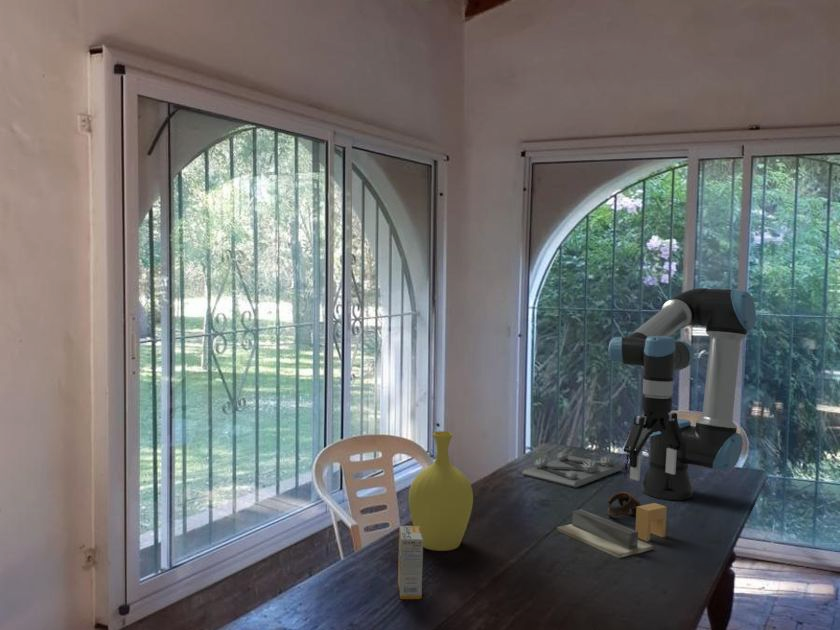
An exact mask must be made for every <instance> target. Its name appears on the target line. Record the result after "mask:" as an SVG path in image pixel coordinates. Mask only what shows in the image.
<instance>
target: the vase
mask: <svg viewBox="0 0 840 630" xmlns="http://www.w3.org/2000/svg"><path fill="white" fill-rule="evenodd" d="M432 435H433V438H434V442H435V445H436V454H435V459H434V461H433V462H432V464H430V465H429V466H427V467H426V468H424V469H422V470H421V471H420V472H419V473H418V474H417V475H416V476H415V478H414V479H413V481H412V482H411V484H410V487H409V491H408V507H409V513H410V518H411V521H412V524H413V525H412V526H420V528H421V533H422V537H423V549H427V550H430V551H439V552H441V551H443V552H444V551H452V550H456V549H457V548H458V547H459V548H460V545H461V543H462V540H463V538H464V535H465V534H466V533H465V532H466V531H467V527H468V524H469V521H470V518H471V514H472V511H473V504H474V492H473V488H472V485H471V483H470V481H469V479H468V478H467V477H466V476H465V474H464V473H463V472H462V471H460V470H459V469H458V468H457V467H455V466H453V464H451V461H450V459H449V458H450V457H449V447H450V443H451V440H452V438H453V435H454V434H453V432H450V431H443V430H442V431H441V430H440V431H434V432H433V433H432Z"/></svg>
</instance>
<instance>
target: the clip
mask: <svg viewBox="0 0 840 630" xmlns="http://www.w3.org/2000/svg"><path fill="white" fill-rule="evenodd" d="M667 510H668V508H667V506H666V505H662V504H658V503H656V502H652V503H648V504H647V503H646V504H643V505H641V506H637V508H636V515H635V527H634V528H635V531H637V532H638V539H639V540H643V541H644V542H649V541H651V534H653V535H654V536H658V537H659V538H666V530H667V529H666V527H667V525H666V524H667V512H668V511H667Z"/></svg>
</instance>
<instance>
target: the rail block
mask: <svg viewBox="0 0 840 630" xmlns="http://www.w3.org/2000/svg"><path fill="white" fill-rule="evenodd" d="M556 532H559V533H561V534H564V535H566V536H568V537H570V538H572V539H575V540H577V541H578V542H581V543H584V544H586V545H588V546H590V547H593V548H594V549H597V550H600V551H601V552H604V553H606V554H609V555H610V556H613V557H615V558H617V559H621V558H624V557H625V558H626V557H628V556H633V555H636V554H641V553H645V552H648V551H649V552H650V551H653V549H654V546H653V545H652V544H649V543H647V542H646V541H642V540H641V539H639V538H638V532H637V531H635V530H634V529H632V528H630V527H627V526H624V525H622V524H621V523H617V522H614V521H612V520H609V519H607V518H605V517H601V516H599V515H597V514H594V513H591V512H589V511H586V510H584V509H581V508H580V509H576V510H572V523H571V524H565V525H561V526H556Z"/></svg>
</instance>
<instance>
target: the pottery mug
mask: <svg viewBox="0 0 840 630" xmlns="http://www.w3.org/2000/svg"><path fill="white" fill-rule="evenodd" d="M615 501H618V503H619V505H620V506H614V505H612V504H613V503H614V502H615ZM607 503H608V505H607V515H608V518H611V517H612V516H613V517H618V516H624V515H628V516H631V515H632V516H636V508H637V506H642V505H641V503H640V501H639V500H638V499H637V498H636V497H635V496H633V495H632V494H631V493H629V492H627V491H622V492H618V493H615V494H613V495H612V496H611V497H609V499H608V500H607ZM630 510H631V511H630Z"/></svg>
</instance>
